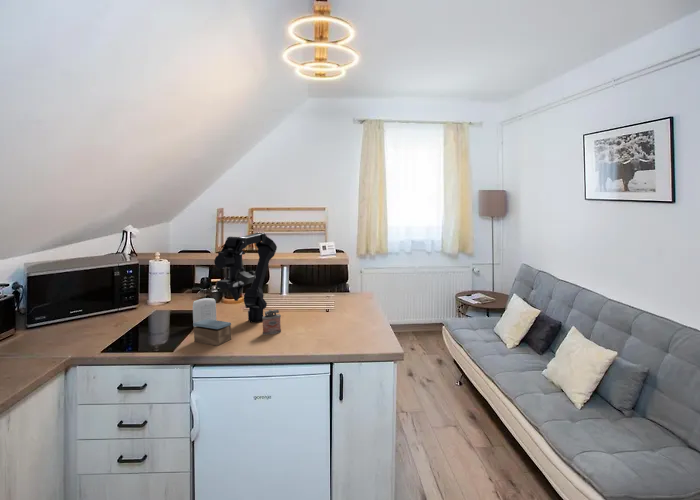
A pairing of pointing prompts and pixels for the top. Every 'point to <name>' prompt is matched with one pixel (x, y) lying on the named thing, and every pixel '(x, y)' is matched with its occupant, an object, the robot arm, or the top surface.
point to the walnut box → (212, 335)
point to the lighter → (271, 322)
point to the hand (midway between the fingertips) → (236, 300)
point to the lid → (212, 324)
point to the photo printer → (204, 309)
